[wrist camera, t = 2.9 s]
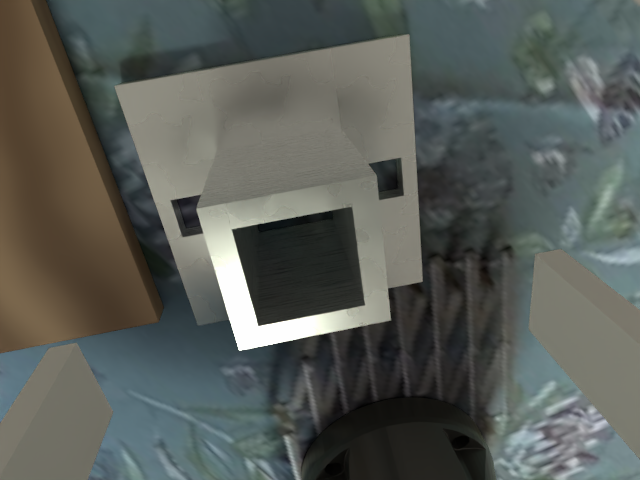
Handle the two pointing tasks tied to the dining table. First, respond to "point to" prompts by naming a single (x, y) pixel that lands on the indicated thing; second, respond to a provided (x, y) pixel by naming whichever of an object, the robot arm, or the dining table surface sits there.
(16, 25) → the post board
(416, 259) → the flange
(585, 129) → the dining table surface
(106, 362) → the dining table surface
